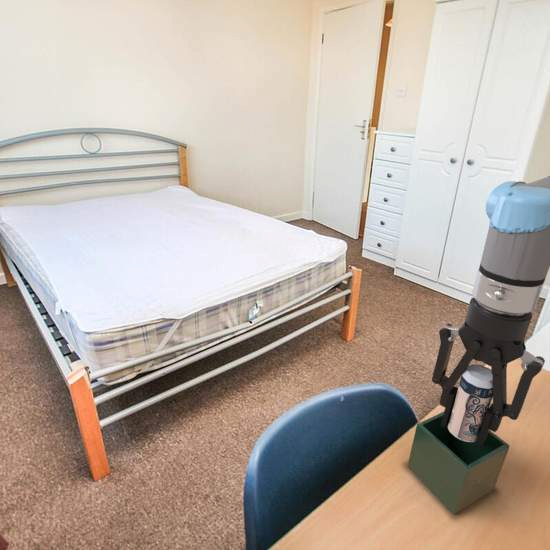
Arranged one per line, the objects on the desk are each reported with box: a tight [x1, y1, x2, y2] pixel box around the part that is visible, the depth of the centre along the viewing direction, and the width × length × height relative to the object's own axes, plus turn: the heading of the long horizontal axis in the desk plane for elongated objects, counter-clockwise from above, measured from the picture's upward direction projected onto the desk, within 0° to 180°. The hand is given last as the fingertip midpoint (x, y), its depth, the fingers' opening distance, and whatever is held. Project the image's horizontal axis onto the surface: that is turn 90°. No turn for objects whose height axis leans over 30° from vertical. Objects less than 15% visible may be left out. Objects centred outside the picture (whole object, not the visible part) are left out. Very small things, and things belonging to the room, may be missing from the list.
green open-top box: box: [407, 411, 511, 515], centre depth 64 cm, size 10×10×11 cm
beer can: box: [448, 363, 493, 442], centre depth 59 cm, size 5×5×12 cm
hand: (463, 431), depth 61 cm, fingers closed on beer can, 5 cm apart
